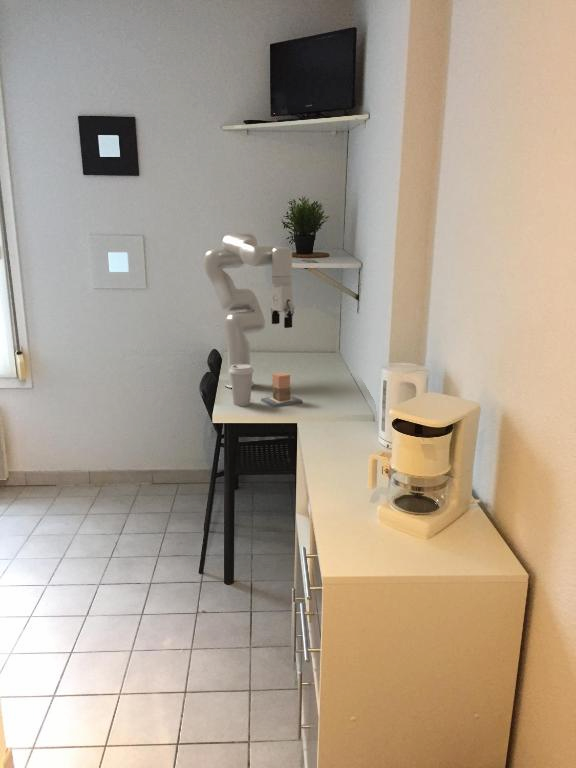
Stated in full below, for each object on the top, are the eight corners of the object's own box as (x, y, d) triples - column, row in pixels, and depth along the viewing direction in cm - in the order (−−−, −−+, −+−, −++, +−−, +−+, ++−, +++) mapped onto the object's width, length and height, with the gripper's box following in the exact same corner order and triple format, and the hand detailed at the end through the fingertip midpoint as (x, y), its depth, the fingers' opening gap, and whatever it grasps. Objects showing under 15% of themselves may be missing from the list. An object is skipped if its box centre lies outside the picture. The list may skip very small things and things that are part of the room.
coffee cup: (229, 400, 259) (229, 363, 255) (253, 400, 260) (253, 363, 256) (229, 407, 250) (228, 369, 246) (254, 407, 250) (253, 369, 246)
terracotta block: (272, 386, 257) (272, 373, 256) (283, 384, 259) (283, 372, 258) (278, 389, 253) (278, 376, 251) (289, 387, 255) (290, 374, 254)
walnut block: (273, 398, 258) (272, 386, 257) (284, 396, 260) (284, 384, 259) (279, 401, 254) (279, 389, 253) (290, 399, 256) (290, 387, 255)
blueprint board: (261, 400, 259) (261, 398, 258) (289, 396, 265) (289, 393, 265) (273, 407, 250) (273, 404, 250) (302, 402, 256) (302, 399, 256)
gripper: (262, 279, 251) (262, 323, 255) (284, 283, 236) (284, 330, 241) (279, 278, 254) (279, 321, 259) (302, 282, 240) (301, 328, 244)
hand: (281, 325), depth 250 cm, fingers open, 9 cm apart
